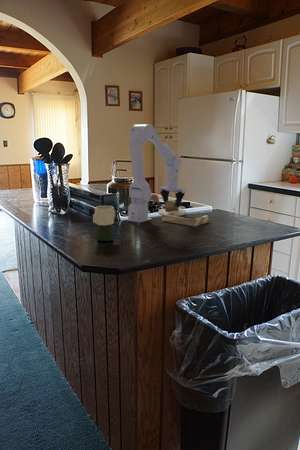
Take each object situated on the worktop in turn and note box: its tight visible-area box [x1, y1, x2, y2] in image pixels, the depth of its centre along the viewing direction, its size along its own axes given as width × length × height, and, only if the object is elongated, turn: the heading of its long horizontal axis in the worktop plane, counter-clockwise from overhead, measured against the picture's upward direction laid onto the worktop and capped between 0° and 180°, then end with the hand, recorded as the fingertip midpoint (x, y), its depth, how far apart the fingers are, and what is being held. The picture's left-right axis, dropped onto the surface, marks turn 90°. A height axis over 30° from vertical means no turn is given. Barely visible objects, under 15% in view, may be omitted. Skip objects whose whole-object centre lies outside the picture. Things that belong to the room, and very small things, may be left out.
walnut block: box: [164, 200, 180, 212], centre depth 193 cm, size 5×5×5 cm
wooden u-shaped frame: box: [161, 211, 209, 227], centre depth 176 cm, size 12×18×3 cm, turn 52°
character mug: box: [92, 205, 116, 242], centre depth 143 cm, size 11×7×13 cm, turn 139°
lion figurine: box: [149, 193, 161, 205], centre depth 213 cm, size 15×5×9 cm, turn 122°
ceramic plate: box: [158, 208, 187, 217], centre depth 194 cm, size 14×14×1 cm
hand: (172, 205), depth 193 cm, fingers open, 7 cm apart
